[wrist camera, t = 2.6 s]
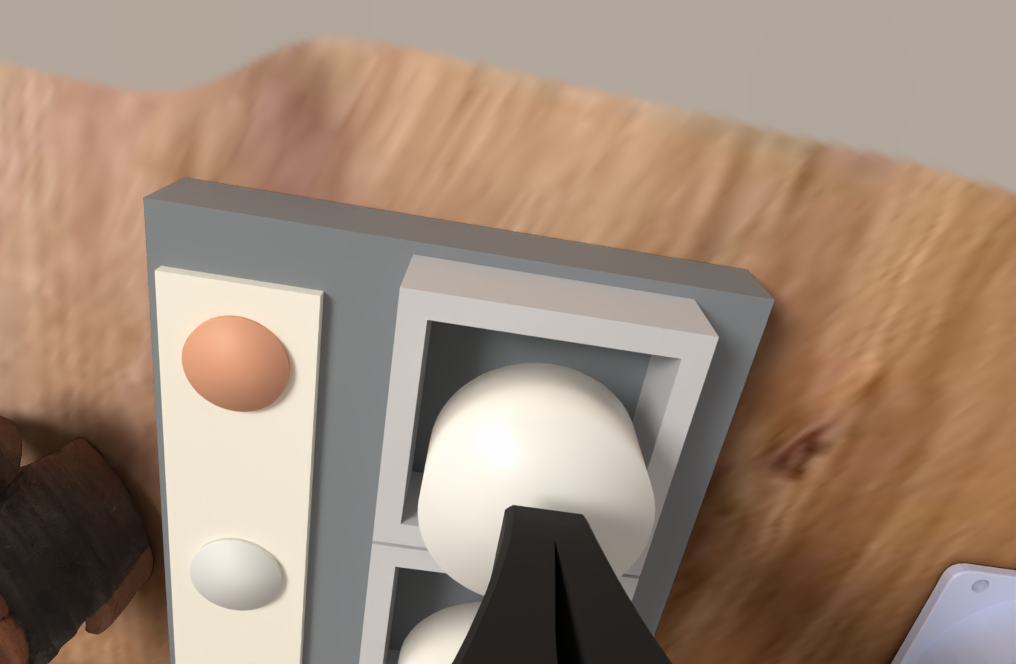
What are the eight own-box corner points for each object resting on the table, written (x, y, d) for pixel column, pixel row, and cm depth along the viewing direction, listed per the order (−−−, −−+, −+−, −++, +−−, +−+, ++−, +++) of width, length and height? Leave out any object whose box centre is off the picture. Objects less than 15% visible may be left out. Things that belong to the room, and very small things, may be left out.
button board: (747, 270, 17) (810, 337, 14) (580, 767, 26) (592, 891, 22) (184, 177, 16) (90, 223, 13) (201, 724, 25) (148, 847, 21)
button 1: (660, 380, 14) (683, 435, 12) (610, 547, 16) (623, 617, 14) (442, 347, 13) (432, 399, 12) (418, 521, 15) (405, 590, 13)
